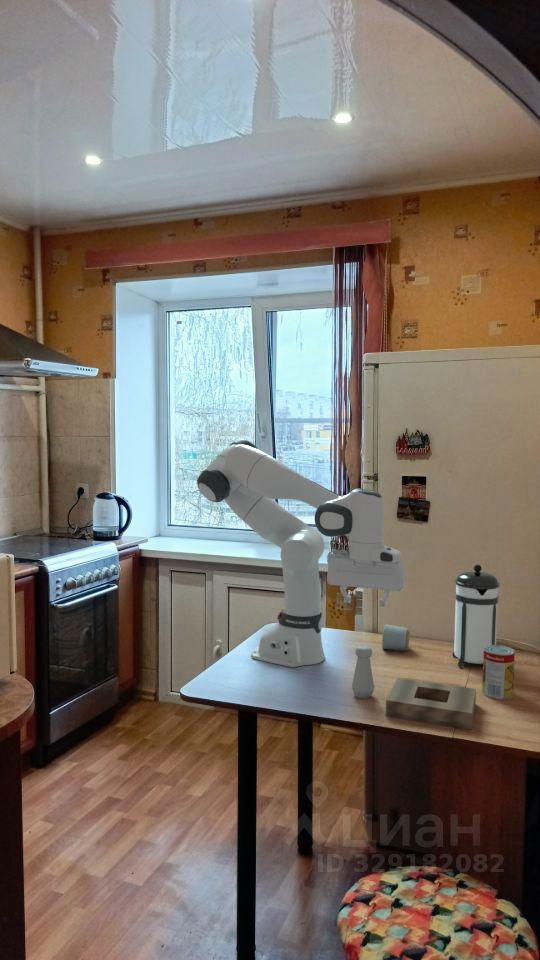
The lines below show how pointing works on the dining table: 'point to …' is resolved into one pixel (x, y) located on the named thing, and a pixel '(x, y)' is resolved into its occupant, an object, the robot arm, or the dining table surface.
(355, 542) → the robot arm
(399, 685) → the walnut holder
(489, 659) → the canned food
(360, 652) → the salt shaker
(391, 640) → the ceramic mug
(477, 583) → the coffee press
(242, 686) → the dining table surface
